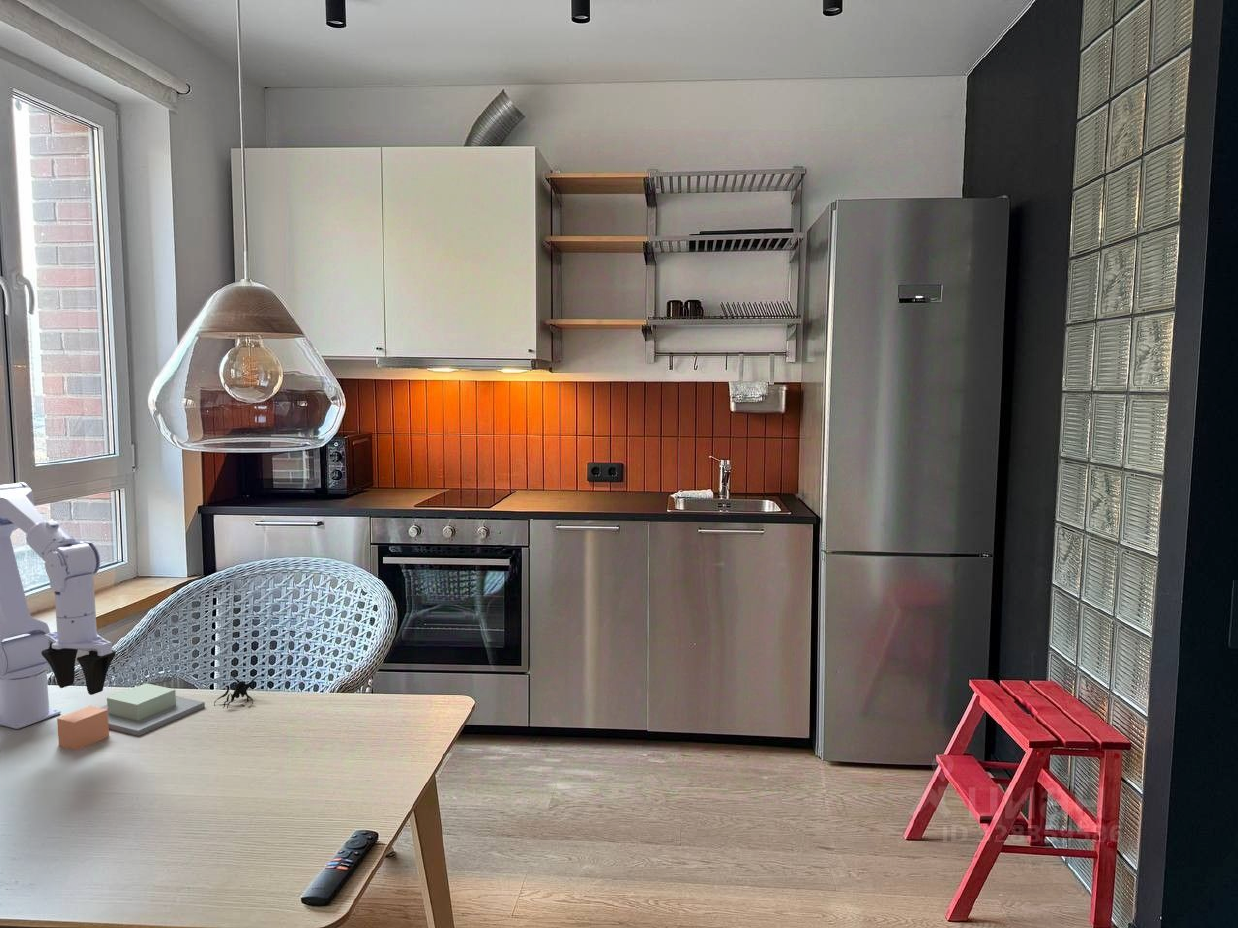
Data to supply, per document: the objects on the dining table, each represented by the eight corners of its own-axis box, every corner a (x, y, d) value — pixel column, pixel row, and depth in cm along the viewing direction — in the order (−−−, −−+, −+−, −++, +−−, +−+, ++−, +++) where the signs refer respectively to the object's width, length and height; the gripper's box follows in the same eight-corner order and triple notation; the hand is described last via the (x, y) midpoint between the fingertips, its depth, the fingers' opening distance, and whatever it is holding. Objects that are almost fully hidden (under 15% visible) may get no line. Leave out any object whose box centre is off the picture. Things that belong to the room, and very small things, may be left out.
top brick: (58, 745, 143) (57, 718, 142) (92, 732, 148) (90, 705, 148) (75, 750, 141) (74, 722, 141) (109, 736, 147) (107, 709, 146)
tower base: (78, 720, 153) (76, 700, 152) (146, 694, 166) (145, 675, 165) (138, 735, 147) (137, 714, 146) (204, 706, 159) (203, 687, 159)
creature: (246, 717, 158) (267, 692, 165) (241, 693, 156) (262, 669, 164) (207, 715, 159) (230, 691, 166) (202, 691, 157) (225, 668, 164)
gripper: (24, 614, 141) (30, 690, 143) (81, 624, 136) (86, 704, 137) (65, 604, 148) (70, 677, 149) (121, 613, 142) (126, 689, 144)
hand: (81, 689), depth 144 cm, fingers open, 7 cm apart
